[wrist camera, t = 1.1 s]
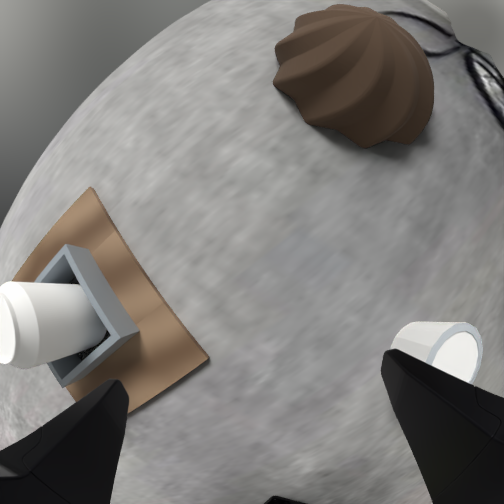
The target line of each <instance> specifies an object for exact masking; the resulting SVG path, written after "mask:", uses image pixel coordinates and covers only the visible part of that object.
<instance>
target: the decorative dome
mask: <svg viewBox="0 0 504 504" xmlns="http://www.w3.org/2000/svg"><path fill="white" fill-rule="evenodd" d="M275 53H276V56H277V59H278V61H279V64H280V68H279V70H278V72H277V74H276V76H275V78H274V80H273V85H274V86H275V87H276V88H278V89H279V90H281V91H282V92H284V93H285V94H287V95H288V96H290V97H291V98H292V99H294V100H295V102H296V104H297V106H298V108H299V111H300V113H301V115H302V117H303V119H304V121H305V122H306V123H307V124H310V125H314V126H319V127H324V128H329V129H334V130H337V131H339V132H341V133H342V134H343V135H345V136H346V137H348V138H349V139H350V140H352V141H353V142H354V143H356V144H357V145H358V146H360V147H362V148H368V147H371V146H373V145H375V144H378V143H380V142H383V141H385V140H388V141H394V142H398V143H403V144H411V143H412V142H413V141H414V140H415V139H416V138H417V137H418V136H419V134H420V133H421V132H422V131H423V129H424V128H425V126H426V124H427V123H428V121H429V118H430V116H431V113H432V109H433V104H434V81H433V75H432V71H431V67H430V65H429V62H428V60H427V57H426V55H425V53H424V52H423V50H422V48H421V47H420V45H419V44H418V42H417V41H416V40H415V39H414V37H413V36H412V35H411V34H409V33H408V32H407V31H406V30H405V29H403V28H402V27H400V26H399V25H398V24H397V23H396V22H395V21H394V20H393V19H392V18H390V17H388V16H386V15H383V14H380V13H377V12H376V11H374V10H372V9H370V8H367V7H355V6H350V5H344V4H337V5H332V6H330V7H328V8H327V9H326V10H322V11H316V12H311V13H307V14H304V15H301V16H299V17H298V18H297V19H296V21H295V27H294V31H293V33H291V34H290V35H289V36H287V37H286V38H284V39H283V40H281V41H279V42H278V43H277V44H276V46H275Z"/></svg>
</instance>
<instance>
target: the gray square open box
mask: <svg viewBox="0 0 504 504" xmlns="http://www.w3.org/2000/svg"><path fill="white" fill-rule="evenodd" d="M75 276H76V278H77V280H78V282H79V284H80V285H81V287H82V289H83V291H84V292H85V294H86V296H87V298H88V299H89V301H90V303H91V305H92V306H93V308H94V310H95V311H96V313H97V314H98V316H99V318H100V319H101V321H102V322H103V324H104V325H105V327H106V328H107V330H108V332H109V333H110V335H111V336H110V337H109V338H108V339H107V340H105V341H104V342H103V343H102V344H101V345H100V346H99V347H98V348H96V349H95V350H94V351H93V352H92V353H91V354H90V355H89V356H87V357H86V358H85V359H84V360H83V361H82V360H81V359H80V357H79V355H78V354H77V353H75V354H72V355H69V356H66V357H63V358H60V359H57V360H54V361H51V362H48V363H47V364H48V366H49V368H50V369H51V371H52V373H53V374H54V376H55V377H56V379H57V381H58V382H59V384H60V385H61V387H62V388H64V387H66V386H68V385H70V384H72V383H74V382H76V381H78V380H80V379H82V378H84V377H85V376H86V375H88V374H89V373H90V372H91V371H92V370H93V369H95V368H96V367H97V366H98V365H99V364H101V363H102V362H103V361H104V360H105V359H107V358H108V357H109V356H110V355H111V354H113V353H114V352H115V351H116V350H117V349H119V348H120V347H121V346H122V345H123V344H125V343H126V342H127V341H128V340H129V339H131V338H132V337H133V336H134V335H135V334H137V333H138V332H139V331H140V330H139V329H138V327H137V326H136V324H135V323H134V322H133V320H132V319H131V317H130V316H129V314H128V313H127V311H126V310H125V308H124V307H123V305H122V304H121V302H120V301H119V299H118V298H117V296H116V295H115V293H114V291H113V290H112V288H111V287H110V285H109V283H108V282H107V280H106V279H105V277H104V275H103V274H102V272H101V270H100V268H99V267H98V265H97V263H96V261H95V260H94V258H93V256H92V254H91V253H90V251H89V249H86V248H82V247H77V246H73V245H69V244H65V245H64V246H63V247H62V248H61V250H60V251H59V252H58V253H57V254H56V255H55V257H54V258H53V259H52V260H51V261H50V262H49V264H48V265H47V266H46V267H45V269H44V270H43V271H42V272H41V274H40V275H39V276H38V277H37V279H36V280H35V281H34V283H55V284H68V283H69V282H70V281H71V280H72V279H73V278H74V277H75Z"/></svg>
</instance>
